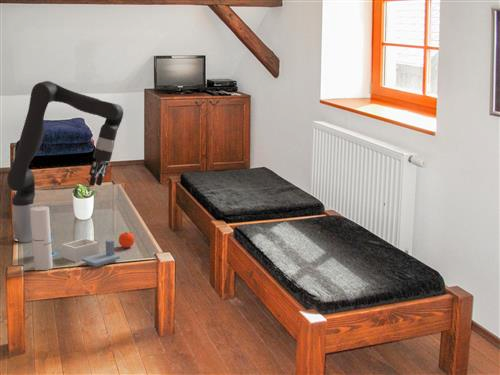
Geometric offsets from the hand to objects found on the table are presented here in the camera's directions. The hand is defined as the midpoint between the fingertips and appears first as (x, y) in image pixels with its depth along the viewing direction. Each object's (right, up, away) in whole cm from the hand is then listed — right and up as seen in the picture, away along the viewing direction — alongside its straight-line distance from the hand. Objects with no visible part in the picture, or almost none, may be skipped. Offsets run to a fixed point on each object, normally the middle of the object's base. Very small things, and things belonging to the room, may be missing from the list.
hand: (94, 185), depth 324 cm
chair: (-21, -31, -3) cm, 37 cm away
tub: (-5, -30, -4) cm, 31 cm away
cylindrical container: (-17, -34, -19) cm, 42 cm away
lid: (+5, -32, -12) cm, 35 cm away
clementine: (+12, -28, +10) cm, 32 cm away
